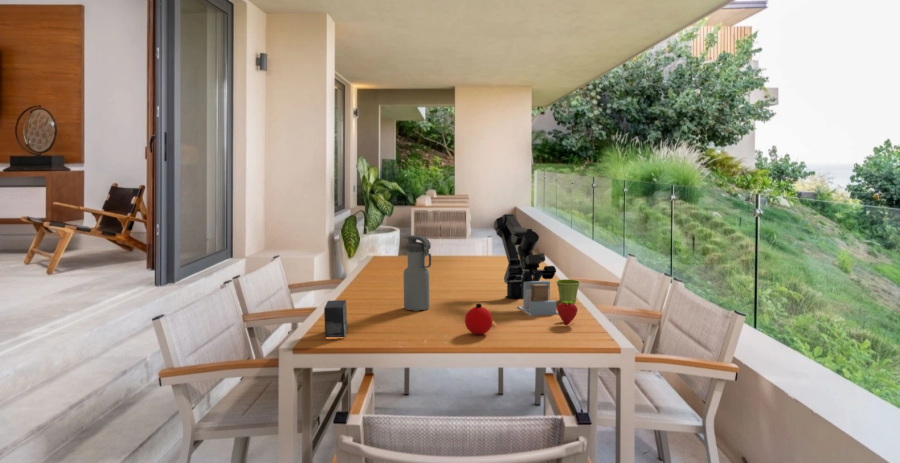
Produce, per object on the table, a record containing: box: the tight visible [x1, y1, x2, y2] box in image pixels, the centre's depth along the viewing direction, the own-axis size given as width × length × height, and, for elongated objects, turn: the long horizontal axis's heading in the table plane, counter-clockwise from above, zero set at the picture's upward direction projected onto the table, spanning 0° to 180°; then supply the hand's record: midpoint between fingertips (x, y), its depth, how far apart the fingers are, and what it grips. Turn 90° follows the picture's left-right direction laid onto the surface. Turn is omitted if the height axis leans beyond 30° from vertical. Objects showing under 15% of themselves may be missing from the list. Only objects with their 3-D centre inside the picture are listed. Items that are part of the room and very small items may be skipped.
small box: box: [323, 299, 348, 338], centre depth 199 cm, size 11×6×10 cm, turn 5°
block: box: [531, 284, 548, 301], centre depth 226 cm, size 4×5×10 cm
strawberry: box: [556, 299, 578, 326], centre depth 210 cm, size 6×8×10 cm
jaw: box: [522, 280, 551, 309], centre depth 229 cm, size 2×10×10 cm, turn 102°
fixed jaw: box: [529, 299, 557, 316], centre depth 223 cm, size 2×10×4 cm, turn 101°
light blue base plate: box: [517, 305, 559, 317], centre depth 228 cm, size 14×11×1 cm
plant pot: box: [555, 278, 581, 303], centre depth 244 cm, size 9×9×9 cm
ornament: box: [464, 303, 494, 336], centre depth 199 cm, size 9×9×10 cm
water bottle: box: [403, 235, 432, 312], centre depth 235 cm, size 10×10×28 cm
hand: (535, 292), depth 230 cm, fingers closed, pressing on jaw
